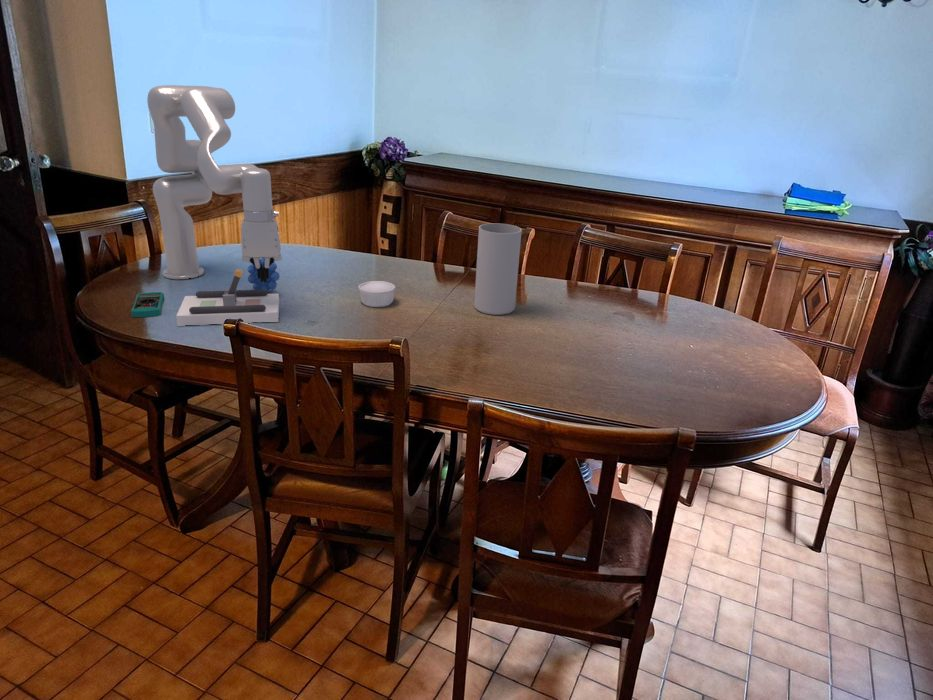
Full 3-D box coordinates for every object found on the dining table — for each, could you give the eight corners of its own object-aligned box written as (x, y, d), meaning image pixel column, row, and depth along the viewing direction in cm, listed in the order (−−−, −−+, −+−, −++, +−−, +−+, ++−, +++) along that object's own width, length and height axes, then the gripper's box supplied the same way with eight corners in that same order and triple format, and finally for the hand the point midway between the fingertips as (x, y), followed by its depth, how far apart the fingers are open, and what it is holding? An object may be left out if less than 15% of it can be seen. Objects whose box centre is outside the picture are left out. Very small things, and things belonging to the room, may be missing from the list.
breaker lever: (224, 297, 184) (235, 267, 181) (233, 300, 185) (244, 270, 182) (223, 301, 181) (234, 271, 178) (232, 304, 182) (243, 274, 179)
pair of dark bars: (196, 296, 187) (195, 290, 187) (267, 294, 192) (267, 288, 191) (189, 314, 174) (188, 308, 174) (265, 312, 179) (265, 305, 178)
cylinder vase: (468, 311, 196) (473, 229, 186) (481, 299, 207) (486, 221, 197) (507, 318, 193) (514, 235, 183) (519, 305, 204) (526, 226, 193)
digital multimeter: (131, 319, 178) (130, 309, 177) (137, 301, 191) (136, 292, 190) (160, 317, 180) (159, 307, 179) (165, 300, 193) (163, 290, 192)
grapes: (288, 292, 203) (286, 255, 199) (275, 298, 198) (272, 260, 193) (258, 286, 207) (255, 249, 202) (244, 292, 202) (241, 254, 197)
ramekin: (365, 294, 206) (365, 278, 203) (399, 298, 204) (399, 282, 202) (353, 306, 196) (353, 290, 193) (389, 310, 194) (389, 293, 192)
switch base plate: (186, 305, 188) (183, 284, 186) (279, 302, 195) (278, 282, 192) (177, 326, 174) (174, 303, 172) (278, 322, 180) (276, 300, 178)
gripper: (287, 212, 181) (291, 276, 188) (230, 212, 177) (236, 277, 184) (287, 218, 174) (291, 284, 181) (228, 219, 170) (234, 285, 178)
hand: (263, 280), depth 183 cm, fingers closed
